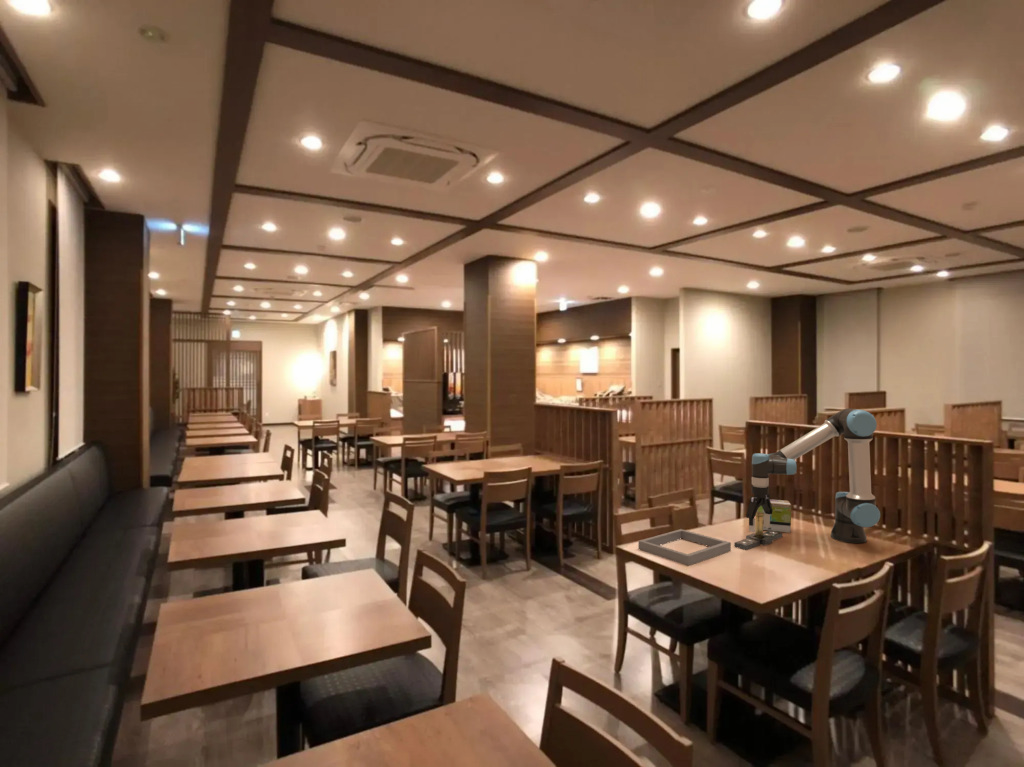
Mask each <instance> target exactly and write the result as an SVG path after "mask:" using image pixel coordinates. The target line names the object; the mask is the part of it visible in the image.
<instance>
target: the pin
mask: <svg viewBox="0 0 1024 767" xmlns="http://www.w3.org/2000/svg"><path fill="white" fill-rule="evenodd" d="M763 516H764V513H762V512H756V515H755V537H757V538H761V539H762V538H763V533H764V530H763Z"/></svg>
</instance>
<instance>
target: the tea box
mask: <svg viewBox="0 0 1024 767" xmlns="http://www.w3.org/2000/svg"><path fill="white" fill-rule="evenodd" d="M770 502H771V506H772V510H773V512H772V514H770V528H767V527H764V516H763V531H770V530H772V531H776V532H780V533H788V534H789V533H791V530H792V529H791V528H792V527H791V525H792V503H790V501H789V500H781V499H771V498H770ZM757 512H762V513H765V512H764V510H763V508H762V506H760V507H759V508H758V510H757ZM765 514H766V513H765Z"/></svg>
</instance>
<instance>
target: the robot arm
mask: <svg viewBox="0 0 1024 767" xmlns="http://www.w3.org/2000/svg"><path fill="white" fill-rule="evenodd" d="M877 423H878V422H877V420H876V417H875V416H874V415H873V414H872V413H871V412H869V411H867V410H865V409H858V408H857V409H856V408H851V407H849V408H845V409H844V408H843V409H842V410H840V411H838V412H836V413H834V414H833V415H831V416H830V417H828V418H827V419H825V420H824V423H823V424H820V425H819V426H817V427H815V428H814V429H813V430H811V431H809V432H807V433H806V434H804V435H803V436H801V437H799V438H797V439H796V440H795V441H792V442H791V443H789V444H788V445H786V446H784V447H783V448H780V449H779V450H778V451H776V452H773V453H769V454H768V453H761V452H760V453H756V452H755V453H753V454H752V456H751V485H752V486H751V492H750V493H751V494H753V496H750V498H749V503H748V507H747V510H746V511H747V512H746V515H745V517H746V518H747V519H748V532H749V533H752V534H753V533H755V528H756V512H757V510H758V508H759V507H760V506H762V508H763V510H764V512H765V513H766V514H765V513H764V527H767V528H770V514H772V512H773V510H772V506H771V502H770V499H771V498H770V497H771V496H770V494H769V486H770V485H769V483H770V482H769V480H770V479H769V476H770V475H784V476H785V475H787V476H788V475H789V476H790V475H795V474H796V473H797V468H798V466H797V462H796V460H797V459H798V458H800V457H801V456H803V455H805V454H807V453H808V452H810V451H812V450H814V449H816V448H817V447H818V446H821V445H822V444H824V443H826V442H827V441H829V440H831V439H832V438H834V437H840V436H842V435H843V439H844V440H845V441H846V442H847V449H848V450H847V451H848V452H847V454H848V476H849V477H848V478H849V479H848V480H849V481H848V482H849V491H837V492H835V498H834V499H835V500H834V502H835V503H834V505H835V507H834V508H835V509H834V510H835V511H834V512H835V515H834V516H835V518H834V520H835V521H834V523H833V526H832V528H831V531H830V538H832V539H833V540H835V541H839V542H844V543H849V544H863V543H867V540H868V539H867V535H866V534H867V533H866V531H865V528H871V527H874V526H875V525H877V524H878V523H879V521H880V518H881V511H880V509H879V508H878V506H876V505H877V502H876V496H875V495H874V494H872V479H871V478H872V477H871V476H872V475H871V473H872V472H871V455H870V454H871V453H870V452H871V451H870V450H871V449H870V442H871V441H872V440H873V439H874V432H875V431H876V430H877V425H878V424H877Z"/></svg>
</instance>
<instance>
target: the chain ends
mask: <svg viewBox="0 0 1024 767" xmlns="http://www.w3.org/2000/svg"><path fill="white" fill-rule="evenodd" d="M783 533H784V532H779V531H772V530H766V531H763V538H762V539H761V538H757V537H755V533H753V532H752V533H751V534H750V533H749V534H747V535H745V538H744V539H741V540H737V541H735V542H734V543H733V544H734V546H735V547H734V546H733V547H734V548H737V547H738V548H737V549H742V550H744V549H745V550H746V551H748V550H751V549H754V548H755V547H759V546H767V545H770V544H771V545H772V544H773V541H775V540H778V539H782V538H783V535H784V534H783Z"/></svg>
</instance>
